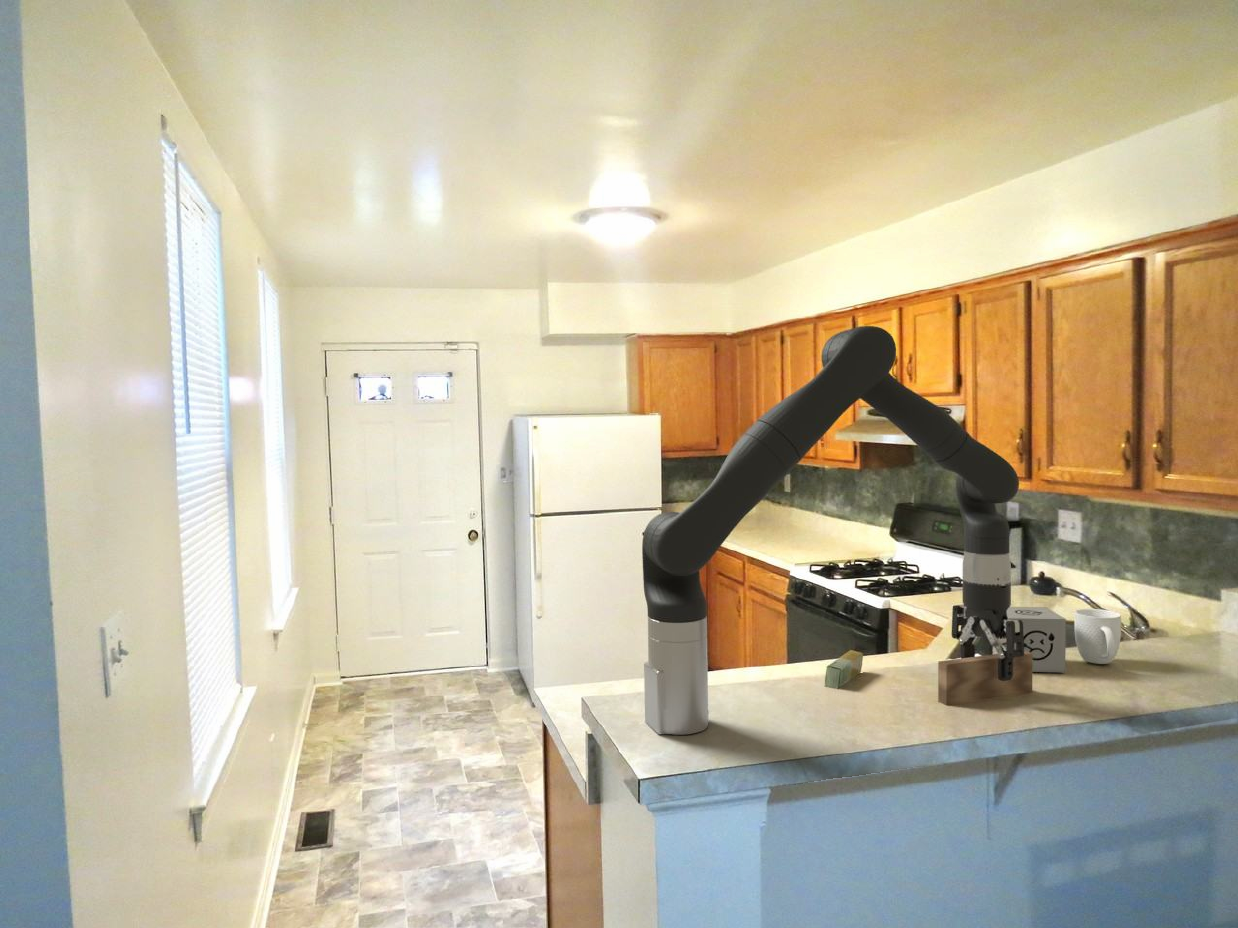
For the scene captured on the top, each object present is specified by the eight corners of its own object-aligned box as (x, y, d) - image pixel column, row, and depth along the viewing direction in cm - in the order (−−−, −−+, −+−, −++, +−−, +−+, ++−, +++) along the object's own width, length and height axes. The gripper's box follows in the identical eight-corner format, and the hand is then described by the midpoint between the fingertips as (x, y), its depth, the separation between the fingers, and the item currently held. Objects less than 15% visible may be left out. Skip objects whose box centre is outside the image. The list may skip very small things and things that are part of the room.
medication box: (838, 691, 149) (840, 669, 148) (823, 687, 151) (825, 665, 150) (861, 672, 159) (863, 651, 158) (848, 668, 160) (849, 648, 160)
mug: (1134, 671, 156) (1134, 621, 156) (1088, 670, 158) (1089, 620, 157) (1110, 655, 167) (1110, 608, 166) (1067, 654, 168) (1068, 608, 168)
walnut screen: (946, 706, 140) (946, 664, 140) (938, 702, 142) (938, 661, 142) (1032, 693, 146) (1032, 653, 145) (1023, 689, 148) (1023, 650, 147)
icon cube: (1046, 657, 167) (1046, 607, 166) (1065, 672, 157) (1065, 619, 156) (992, 656, 168) (992, 606, 167) (1008, 671, 158) (1008, 618, 158)
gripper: (939, 573, 148) (939, 664, 149) (1000, 587, 135) (999, 687, 136) (974, 569, 151) (974, 659, 152) (1037, 583, 137) (1036, 682, 138)
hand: (986, 672), depth 144 cm, fingers open, 8 cm apart
